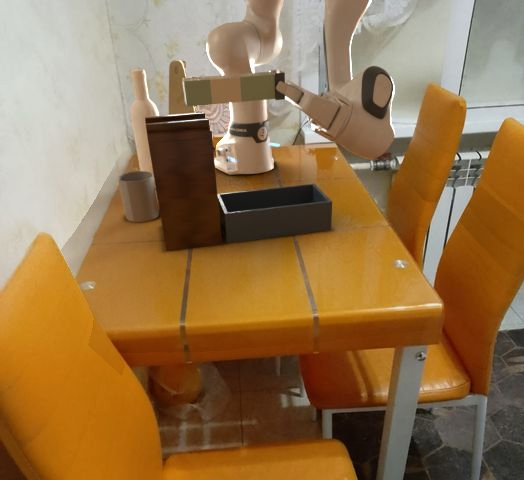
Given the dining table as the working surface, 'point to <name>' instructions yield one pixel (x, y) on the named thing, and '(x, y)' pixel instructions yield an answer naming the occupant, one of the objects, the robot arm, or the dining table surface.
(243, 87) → the drawer
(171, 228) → the stand
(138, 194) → the cup
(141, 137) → the bottle
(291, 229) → the crate
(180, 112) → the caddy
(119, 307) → the dining table surface
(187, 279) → the dining table surface
